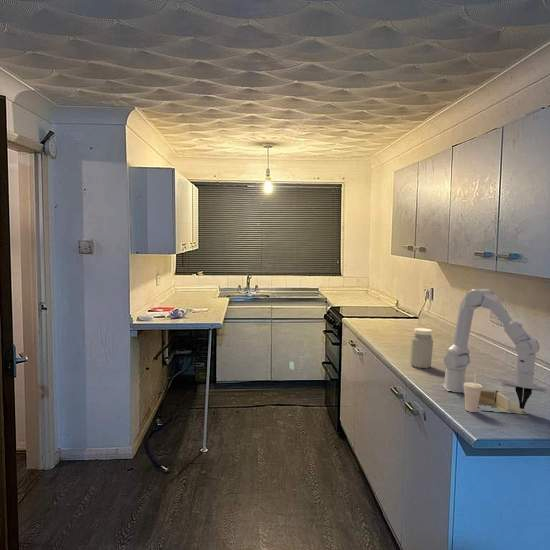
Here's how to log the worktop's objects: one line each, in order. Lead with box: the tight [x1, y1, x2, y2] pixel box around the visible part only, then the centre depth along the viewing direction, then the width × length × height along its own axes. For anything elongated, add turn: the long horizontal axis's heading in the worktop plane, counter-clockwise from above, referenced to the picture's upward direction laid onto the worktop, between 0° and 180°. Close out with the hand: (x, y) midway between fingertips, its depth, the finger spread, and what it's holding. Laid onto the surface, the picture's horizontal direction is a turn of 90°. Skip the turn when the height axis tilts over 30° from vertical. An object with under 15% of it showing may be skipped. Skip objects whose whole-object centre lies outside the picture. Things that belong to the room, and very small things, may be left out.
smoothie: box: [464, 372, 483, 413], centre depth 179 cm, size 6×6×14 cm
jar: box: [409, 327, 434, 369], centre depth 238 cm, size 10×10×18 cm
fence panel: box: [496, 392, 511, 411], centre depth 184 cm, size 8×1×4 cm, turn 4°
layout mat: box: [477, 398, 528, 415], centre depth 187 cm, size 16×16×1 cm
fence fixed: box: [479, 390, 499, 403], centre depth 189 cm, size 1×10×5 cm, turn 83°
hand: (521, 408), depth 181 cm, fingers closed
